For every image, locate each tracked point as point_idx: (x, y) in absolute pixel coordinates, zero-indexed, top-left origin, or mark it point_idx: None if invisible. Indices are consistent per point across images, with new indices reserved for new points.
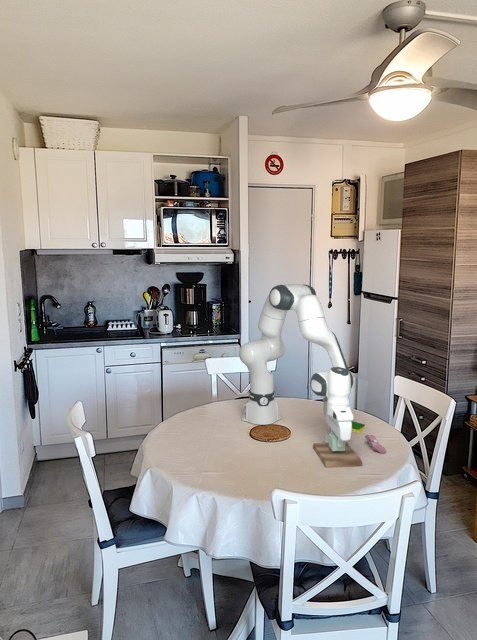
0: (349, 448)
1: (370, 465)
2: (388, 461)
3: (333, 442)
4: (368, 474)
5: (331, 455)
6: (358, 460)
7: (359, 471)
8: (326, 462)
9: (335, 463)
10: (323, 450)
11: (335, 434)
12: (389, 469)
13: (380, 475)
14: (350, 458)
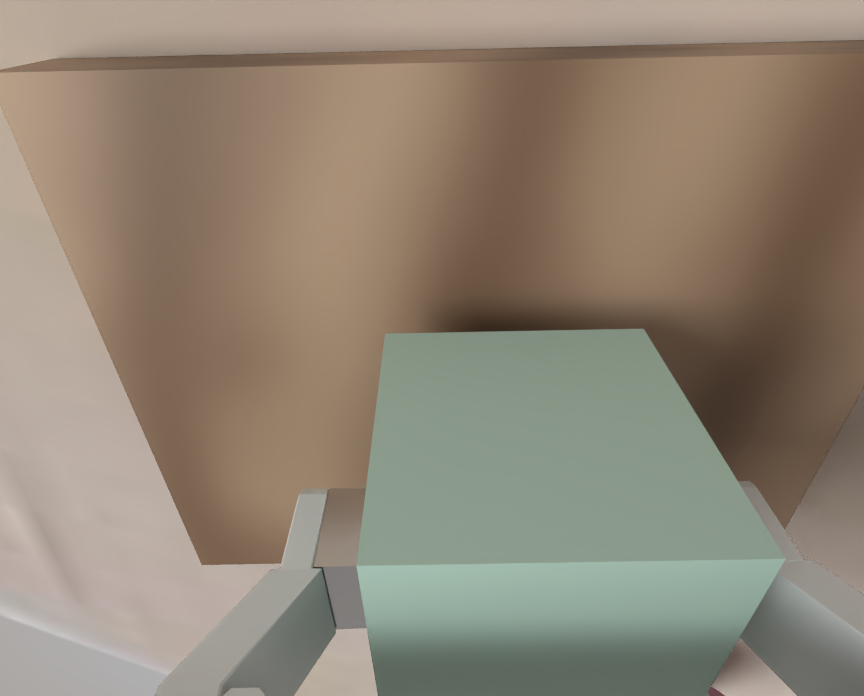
0: None
1: (249, 570)
2: (341, 673)
3: (371, 484)
4: (29, 514)
5: (356, 275)
6: (211, 541)
7: (77, 464)
8: (5, 88)
9: (81, 259)
10: (596, 186)
11: (668, 659)
12: (189, 649)
13: (45, 582)
14: (261, 485)
